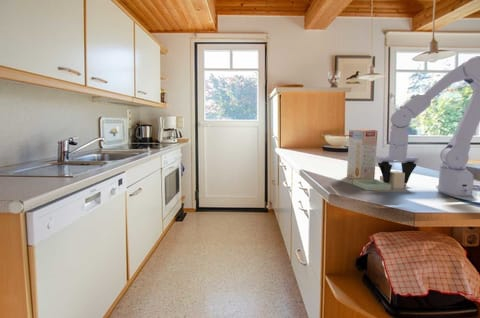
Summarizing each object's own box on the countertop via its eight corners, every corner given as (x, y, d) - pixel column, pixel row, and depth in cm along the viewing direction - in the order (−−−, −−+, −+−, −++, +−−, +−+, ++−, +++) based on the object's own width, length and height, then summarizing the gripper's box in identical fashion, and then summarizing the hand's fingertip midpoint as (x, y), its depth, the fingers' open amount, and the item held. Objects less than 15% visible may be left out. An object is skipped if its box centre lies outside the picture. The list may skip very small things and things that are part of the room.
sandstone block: (403, 188, 110) (404, 172, 109) (393, 188, 109) (394, 173, 109) (396, 186, 114) (397, 171, 113) (386, 186, 113) (387, 171, 113)
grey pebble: (390, 185, 115) (391, 177, 114) (382, 185, 115) (382, 177, 115) (387, 183, 118) (388, 176, 117) (379, 183, 118) (380, 175, 117)
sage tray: (390, 191, 108) (391, 184, 108) (366, 192, 108) (366, 185, 107) (375, 185, 118) (375, 179, 118) (352, 186, 117) (353, 179, 117)
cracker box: (375, 185, 118) (378, 130, 116) (359, 185, 118) (362, 130, 116) (360, 178, 132) (363, 128, 130) (346, 178, 132) (348, 128, 129)
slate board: (412, 190, 110) (412, 188, 110) (391, 190, 110) (392, 188, 109) (398, 185, 118) (398, 183, 118) (379, 186, 117) (379, 184, 117)
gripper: (410, 143, 115) (407, 180, 117) (372, 143, 113) (370, 180, 115) (423, 145, 108) (420, 184, 110) (383, 145, 107) (380, 184, 108)
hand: (395, 182), depth 112 cm, fingers open, 6 cm apart
